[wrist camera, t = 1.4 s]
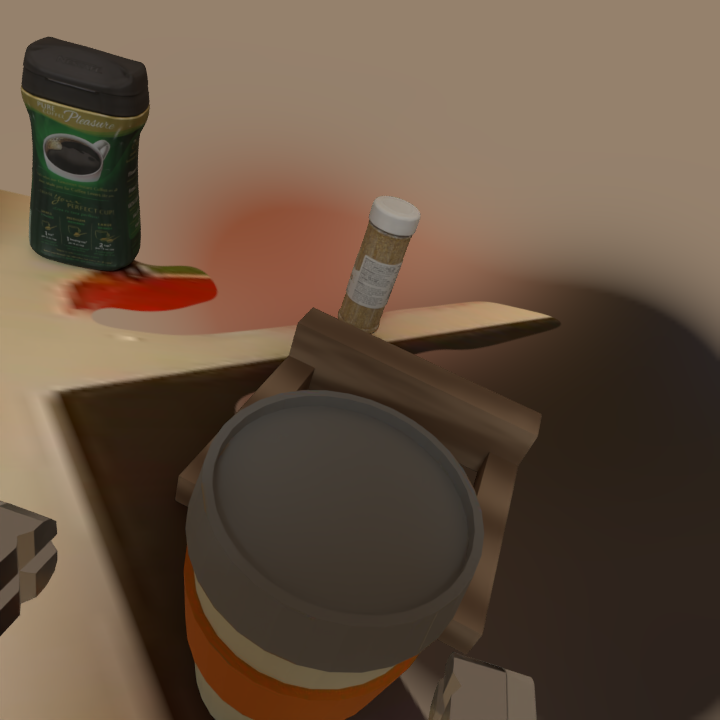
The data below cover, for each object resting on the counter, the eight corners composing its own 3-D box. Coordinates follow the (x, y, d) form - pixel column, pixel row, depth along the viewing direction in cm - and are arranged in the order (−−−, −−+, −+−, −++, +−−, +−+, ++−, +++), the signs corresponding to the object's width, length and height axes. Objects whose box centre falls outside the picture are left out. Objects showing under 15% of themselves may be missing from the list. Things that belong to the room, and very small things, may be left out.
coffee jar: (146, 243, 63) (162, 56, 52) (126, 282, 57) (139, 79, 46) (49, 220, 61) (44, 21, 51) (16, 257, 55) (3, 40, 44)
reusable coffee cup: (237, 527, 40) (284, 352, 31) (409, 620, 38) (511, 462, 29) (105, 708, 30) (120, 523, 21) (332, 845, 28) (452, 706, 19)
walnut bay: (466, 655, 37) (507, 603, 34) (174, 500, 40) (185, 437, 36) (510, 463, 52) (541, 414, 49) (297, 360, 55) (313, 307, 52)
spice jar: (345, 304, 65) (383, 189, 57) (383, 322, 65) (427, 207, 57) (329, 323, 61) (367, 202, 54) (370, 342, 61) (414, 222, 53)
